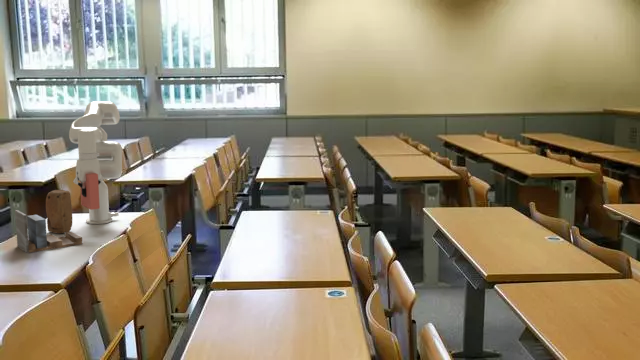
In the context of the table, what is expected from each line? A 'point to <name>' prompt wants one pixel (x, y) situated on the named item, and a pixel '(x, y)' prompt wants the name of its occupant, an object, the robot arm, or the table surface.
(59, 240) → the book stand
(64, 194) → the block
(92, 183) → the book
